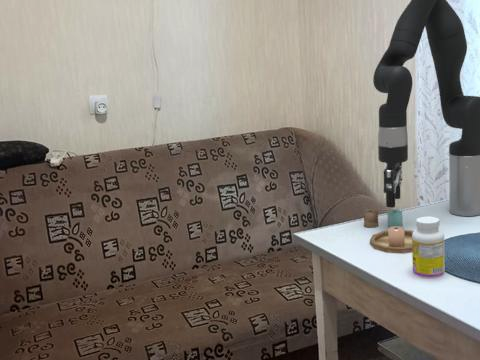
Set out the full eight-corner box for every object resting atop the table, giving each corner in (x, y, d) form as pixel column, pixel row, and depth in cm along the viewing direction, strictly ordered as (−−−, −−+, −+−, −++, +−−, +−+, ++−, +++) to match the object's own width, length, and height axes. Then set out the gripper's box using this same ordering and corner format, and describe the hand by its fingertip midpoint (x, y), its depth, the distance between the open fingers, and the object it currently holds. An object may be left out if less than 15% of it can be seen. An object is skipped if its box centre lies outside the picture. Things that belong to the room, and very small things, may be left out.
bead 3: (390, 244, 146) (389, 225, 144) (405, 245, 144) (405, 226, 143) (387, 250, 142) (386, 230, 141) (403, 251, 141) (402, 231, 140)
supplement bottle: (416, 268, 132) (415, 214, 129) (446, 271, 129) (446, 215, 126) (409, 279, 126) (408, 223, 124) (441, 283, 123) (441, 225, 120)
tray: (376, 235, 156) (376, 228, 155) (431, 238, 150) (431, 231, 149) (365, 254, 143) (364, 246, 143) (424, 258, 137) (424, 250, 137)
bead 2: (389, 227, 161) (388, 209, 160) (403, 227, 160) (403, 210, 158) (386, 231, 158) (386, 213, 157) (401, 232, 156) (400, 214, 155)
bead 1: (365, 226, 164) (365, 208, 163) (379, 226, 162) (379, 209, 161) (362, 230, 161) (362, 212, 159) (376, 231, 159) (376, 213, 158)
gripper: (383, 138, 161) (384, 195, 165) (373, 147, 148) (374, 209, 152) (411, 138, 158) (411, 196, 161) (403, 148, 145) (403, 210, 149)
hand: (393, 202), depth 157 cm, fingers open, 8 cm apart
